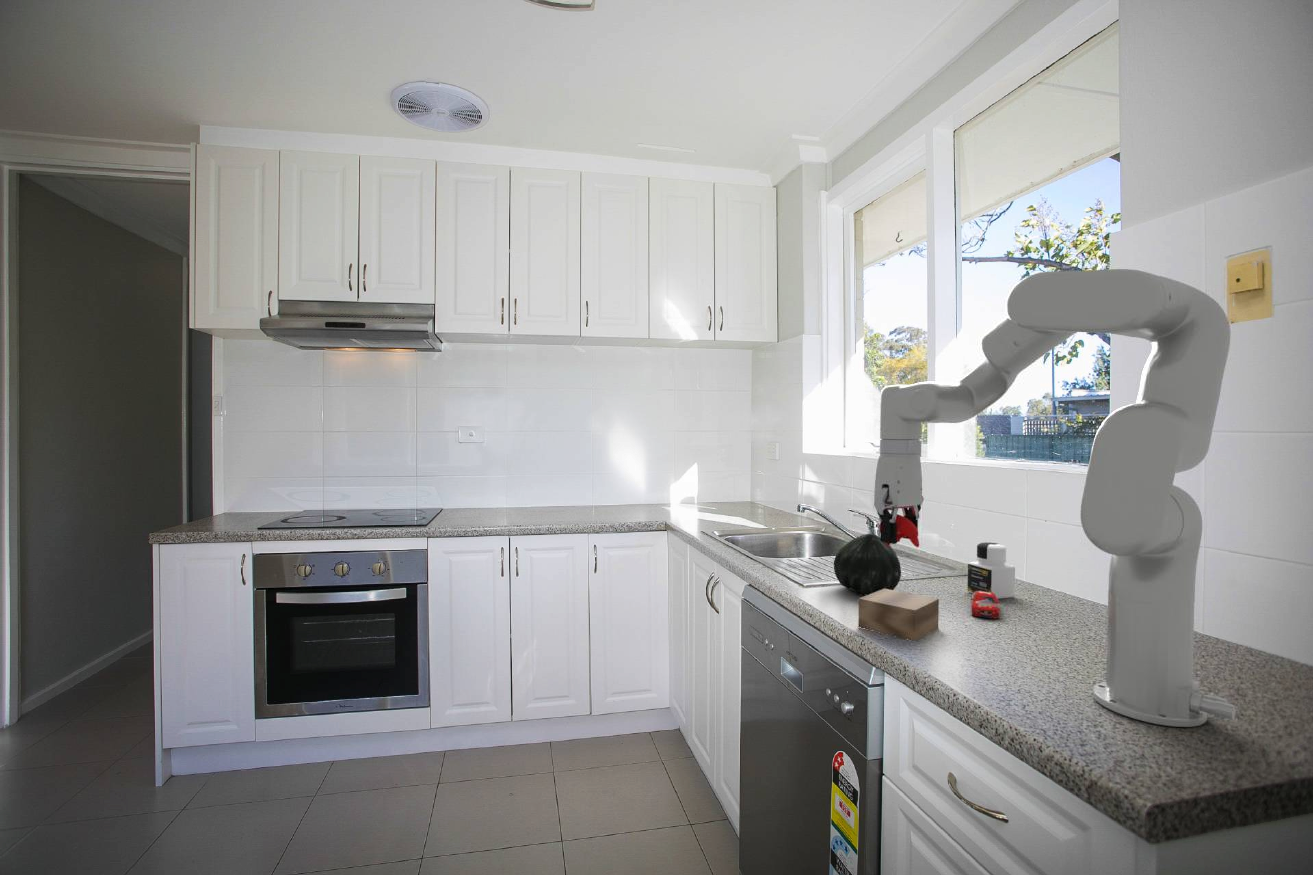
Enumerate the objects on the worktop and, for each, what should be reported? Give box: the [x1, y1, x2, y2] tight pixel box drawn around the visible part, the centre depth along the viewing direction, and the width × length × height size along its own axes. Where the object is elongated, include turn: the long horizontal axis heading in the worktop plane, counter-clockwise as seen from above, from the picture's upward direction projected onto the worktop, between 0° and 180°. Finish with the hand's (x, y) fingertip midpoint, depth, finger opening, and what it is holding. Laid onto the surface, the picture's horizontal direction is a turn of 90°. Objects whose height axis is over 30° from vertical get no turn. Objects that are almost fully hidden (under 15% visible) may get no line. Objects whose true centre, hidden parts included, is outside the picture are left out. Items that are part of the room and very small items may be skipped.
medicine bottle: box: [967, 541, 1016, 600], centre depth 149 cm, size 7×7×12 cm
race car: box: [970, 591, 1001, 620], centre depth 136 cm, size 13×5×4 cm, turn 153°
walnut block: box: [857, 589, 940, 642], centre depth 124 cm, size 11×11×6 cm
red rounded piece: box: [878, 513, 920, 548], centre depth 124 cm, size 8×6×6 cm
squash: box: [833, 533, 902, 596], centre depth 151 cm, size 14×15×15 cm
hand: (899, 539), depth 124 cm, fingers closed on red rounded piece, 6 cm apart
